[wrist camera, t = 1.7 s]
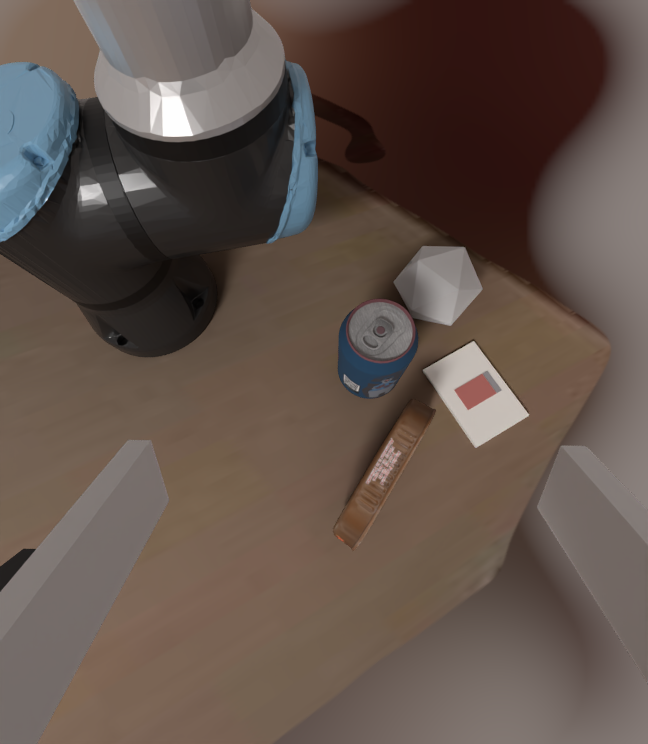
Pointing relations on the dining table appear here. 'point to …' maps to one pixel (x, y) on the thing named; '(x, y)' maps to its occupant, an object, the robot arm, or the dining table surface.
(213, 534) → the dining table surface
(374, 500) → the tin
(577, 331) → the dining table surface
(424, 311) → the die
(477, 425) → the card
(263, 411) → the dining table surface
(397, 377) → the soda can
